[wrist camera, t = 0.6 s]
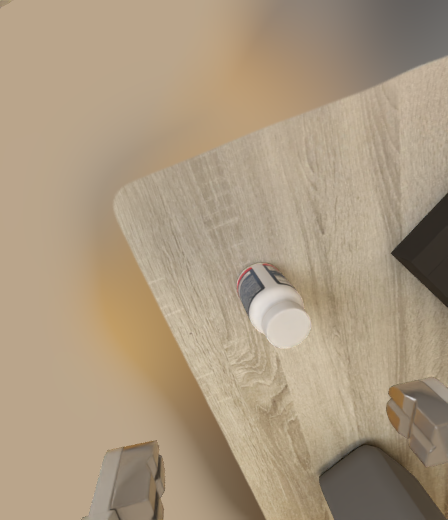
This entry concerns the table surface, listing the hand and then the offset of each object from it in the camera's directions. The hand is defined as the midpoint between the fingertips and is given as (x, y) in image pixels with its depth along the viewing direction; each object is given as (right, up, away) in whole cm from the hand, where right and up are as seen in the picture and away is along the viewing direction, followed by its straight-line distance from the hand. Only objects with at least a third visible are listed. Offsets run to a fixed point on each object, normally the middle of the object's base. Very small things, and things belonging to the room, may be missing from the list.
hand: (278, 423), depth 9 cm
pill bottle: (+2, +3, +21) cm, 22 cm away
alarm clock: (+23, -31, +38) cm, 54 cm away
